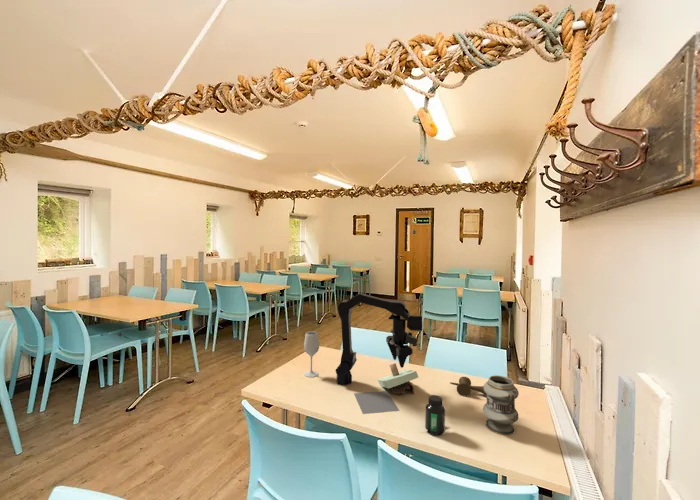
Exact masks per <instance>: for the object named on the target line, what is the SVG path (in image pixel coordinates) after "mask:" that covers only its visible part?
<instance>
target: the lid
mask: <svg viewBox="0 0 700 500" xmlns="http://www.w3.org/2000/svg"><path fill="white" fill-rule="evenodd" d="M389 367H390V370H391V374H389V375H387V376H386V375H385V376H384V377H380V378H377V381H378V384H379V386H381V387H383V388H386V389H388V390H389V389H392V387H397V386H401V385H400V384H403V383H405V382H408V381H410V382H411V381H413V380H416V379H419V375H418V371H417V370H410V369H402V370H400V371H399V369H398V366H397V364H396V363H391V364H389Z"/></svg>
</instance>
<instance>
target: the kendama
mask: <svg viewBox="0 0 700 500" xmlns="http://www.w3.org/2000/svg"><path fill="white" fill-rule="evenodd" d="M449 384H450V385H454V386H456V392H457V393H458V395H459V396H462V397H469V396H470V395H471V391H472V390H473V391H476V392H477V393H478V392H479V393H481V394H483V395H484V396H486V397H487V394H486V393H485V391H484V385H483V386H482V385H481V386H480V385H478V386H477V385H472V381H471V378H469V377H467V376H461V377H460V378H459V379H458V383H457V382H449Z"/></svg>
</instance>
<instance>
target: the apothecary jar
mask: <svg viewBox="0 0 700 500" xmlns="http://www.w3.org/2000/svg"><path fill="white" fill-rule="evenodd" d="M483 386H484V391H485V393H486V394H487V395H486V403H484V405H483V407H482V411H483V414H484V416H485V417H486V418H487V419H486V421H485V427H486V428H487V429H488V430H489V431H490V432H493V433H495V434H497V435H503V436H510V435H513V434H514V433H515V431H516V430H515V427H514V426H513V425H512V424H514V423H516V422H518V420H519V413H518V411H517V409H516V405H515V404H516V402H515V401H516V400H515V399H517V398H518V397H519V389H518V388H517V387H516V386H515V384H514V380H513V379H512V378H510V377H507V376H503V375H499V374H498V375H496V374H495V375H494V374H493V375H490V376H489V377H488V380H487V381H486V382H485V383H484V384H483Z"/></svg>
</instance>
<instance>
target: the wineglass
mask: <svg viewBox="0 0 700 500" xmlns="http://www.w3.org/2000/svg"><path fill="white" fill-rule="evenodd" d="M319 338H320V337H319V334H318V332H317V331H313V330H312V331H310V330H309V331H307V332H305V337H304V342H303V349H304V352H305V353H306V354H307V355H308V356H309V357H310V370H308V371H305V372H304V374H303V376H304V377H307V378H316V377H318V375H319V372H317V371H315V370H313V357H314V356H315V355H316V354H317V353H318V352H319V349H320V339H319Z"/></svg>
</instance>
